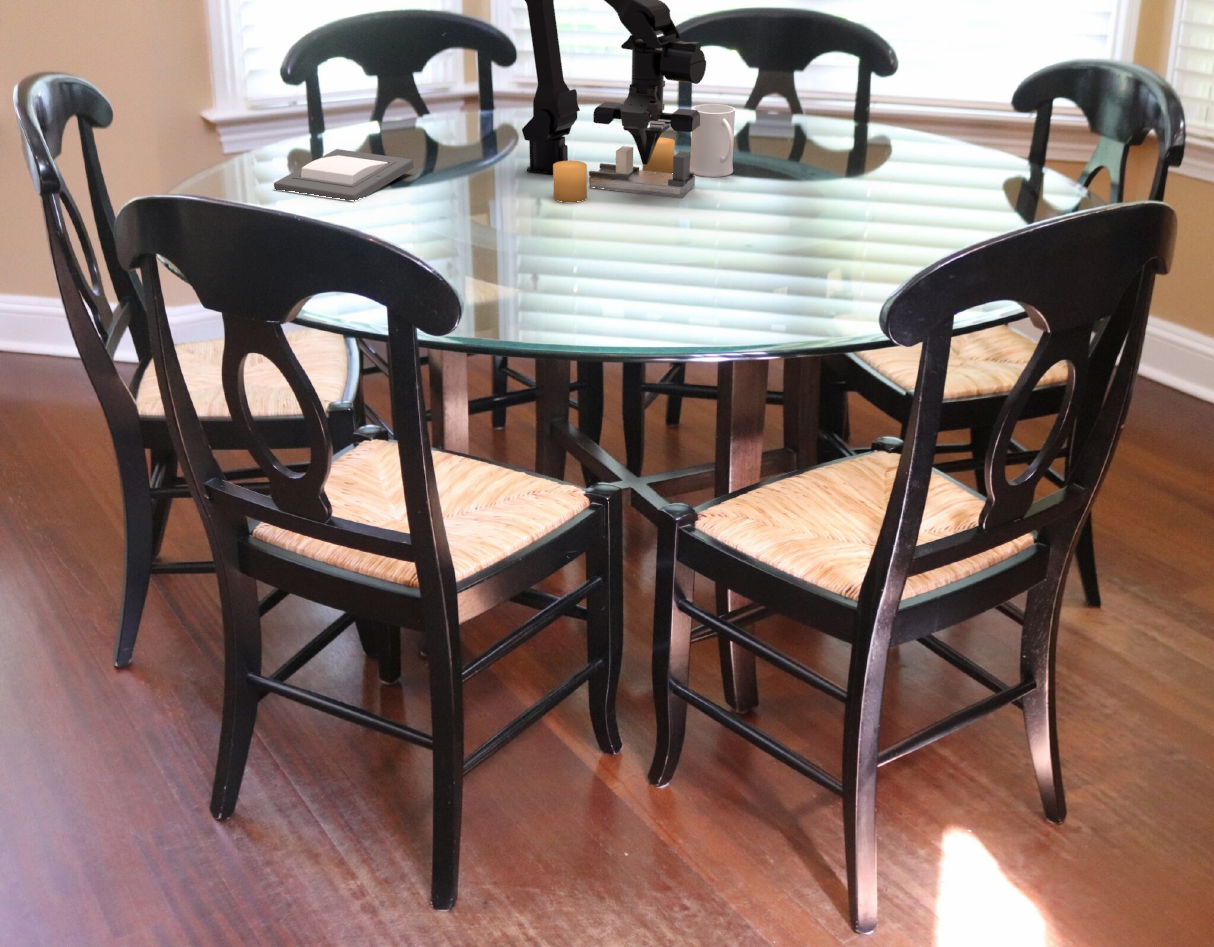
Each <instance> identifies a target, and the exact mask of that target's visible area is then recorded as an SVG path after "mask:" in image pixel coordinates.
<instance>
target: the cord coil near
mask: <svg viewBox="0 0 1214 947" xmlns="http://www.w3.org/2000/svg"><path fill="white" fill-rule="evenodd" d="M552 175H553V176H552V177H553V200H555V201H556V200H559V201H562V202H561V203H564V202H576V203H578V202H577V201H582V200H584V201H586V200H587V199H588V194H587V193H588V182H587V181H588V176H587V175H588V164H587V163H585V162H584V161H578V160H568V161H560V162H557V163H554V164H553V174H552ZM586 198H587V199H586ZM585 199H586V200H585ZM559 201H558V202H559ZM582 202H583V201H582Z"/></svg>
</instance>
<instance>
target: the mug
mask: <svg viewBox="0 0 1214 947" xmlns="http://www.w3.org/2000/svg"><path fill="white" fill-rule="evenodd" d="M692 110H697V111H698V112H699V114H700V126H698V127H697V128H696V129H695V130H693V131H692V132H691V138H690V140H691V141H690V142H691V143H690V172H692V173H694V176H698V177H703V178H704V177H705V178H721V177H727V176H730V175H732V174H733V173H734V167H733V158H734V157H733V154H734V139H735V137H734V136H735V122H736V121H735V120H736V108H735V107H734V106H730V105H726V104H720V103H719V104H718V103H703V104H698V105H695V106H693V107H692Z"/></svg>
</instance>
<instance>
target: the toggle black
mask: <svg viewBox="0 0 1214 947" xmlns="http://www.w3.org/2000/svg"><path fill="white" fill-rule="evenodd" d="M690 161H691V151H678V152H677V153H676V154H674V157H673V179H675V180H686V179H687V178H689V174H690Z"/></svg>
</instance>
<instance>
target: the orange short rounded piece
mask: <svg viewBox="0 0 1214 947" xmlns="http://www.w3.org/2000/svg"><path fill="white" fill-rule="evenodd" d="M675 143H676V142H675V140H674V139H673V138H667V137H661V136H660V137H659V139H658V141H657V143H656V146H655V148H654V151H653V153H652V156H651V158H650V161H649V163H648V164H647V165H645V164H642V170H643V171H652V172H662V173H673V157H674V156H675V145H676V144H675Z"/></svg>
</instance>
